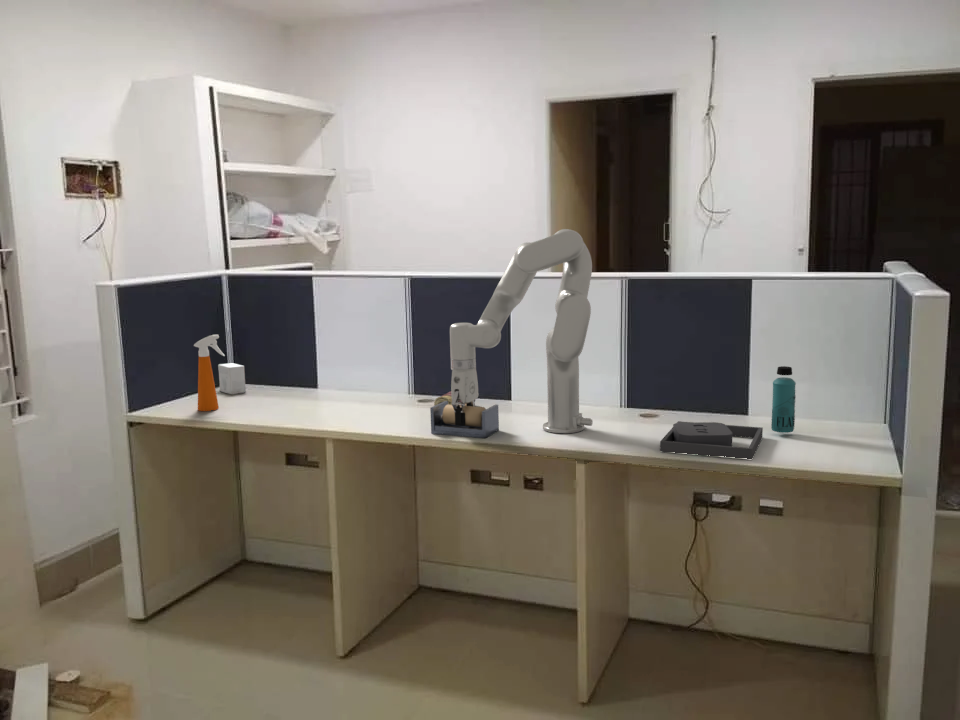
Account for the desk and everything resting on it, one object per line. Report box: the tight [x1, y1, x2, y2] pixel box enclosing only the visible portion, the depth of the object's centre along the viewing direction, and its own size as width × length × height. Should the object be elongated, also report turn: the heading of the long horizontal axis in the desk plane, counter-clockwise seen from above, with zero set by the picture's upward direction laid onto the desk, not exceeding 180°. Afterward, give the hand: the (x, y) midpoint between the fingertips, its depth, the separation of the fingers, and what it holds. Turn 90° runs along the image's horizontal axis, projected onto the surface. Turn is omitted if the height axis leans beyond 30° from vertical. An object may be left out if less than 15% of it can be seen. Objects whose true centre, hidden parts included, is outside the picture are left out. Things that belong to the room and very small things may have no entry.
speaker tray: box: [659, 421, 764, 460], centre depth 241 cm, size 24×24×3 cm
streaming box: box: [672, 421, 733, 446], centre depth 240 cm, size 14×14×5 cm
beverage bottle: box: [770, 365, 797, 434], centre depth 248 cm, size 6×7×20 cm
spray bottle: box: [193, 334, 226, 412], centre depth 301 cm, size 7×11×26 cm, turn 90°
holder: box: [429, 401, 500, 439], centre depth 261 cm, size 18×10×8 cm, turn 66°
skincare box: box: [217, 362, 247, 395], centre depth 332 cm, size 10×6×10 cm, turn 40°
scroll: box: [433, 391, 462, 406], centre depth 290 cm, size 8×8×20 cm
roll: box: [443, 405, 487, 427], centre depth 261 cm, size 12×6×6 cm, turn 66°
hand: (465, 422), depth 262 cm, fingers closed on roll, 6 cm apart
